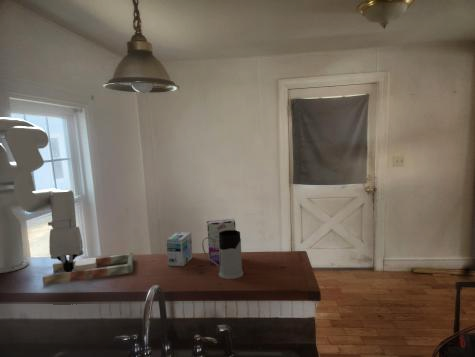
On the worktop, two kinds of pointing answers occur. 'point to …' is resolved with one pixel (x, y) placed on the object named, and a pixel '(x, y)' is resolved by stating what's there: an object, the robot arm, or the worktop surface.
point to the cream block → (85, 264)
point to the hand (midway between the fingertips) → (68, 271)
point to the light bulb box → (179, 249)
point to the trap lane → (92, 270)
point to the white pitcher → (229, 254)
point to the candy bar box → (217, 236)
